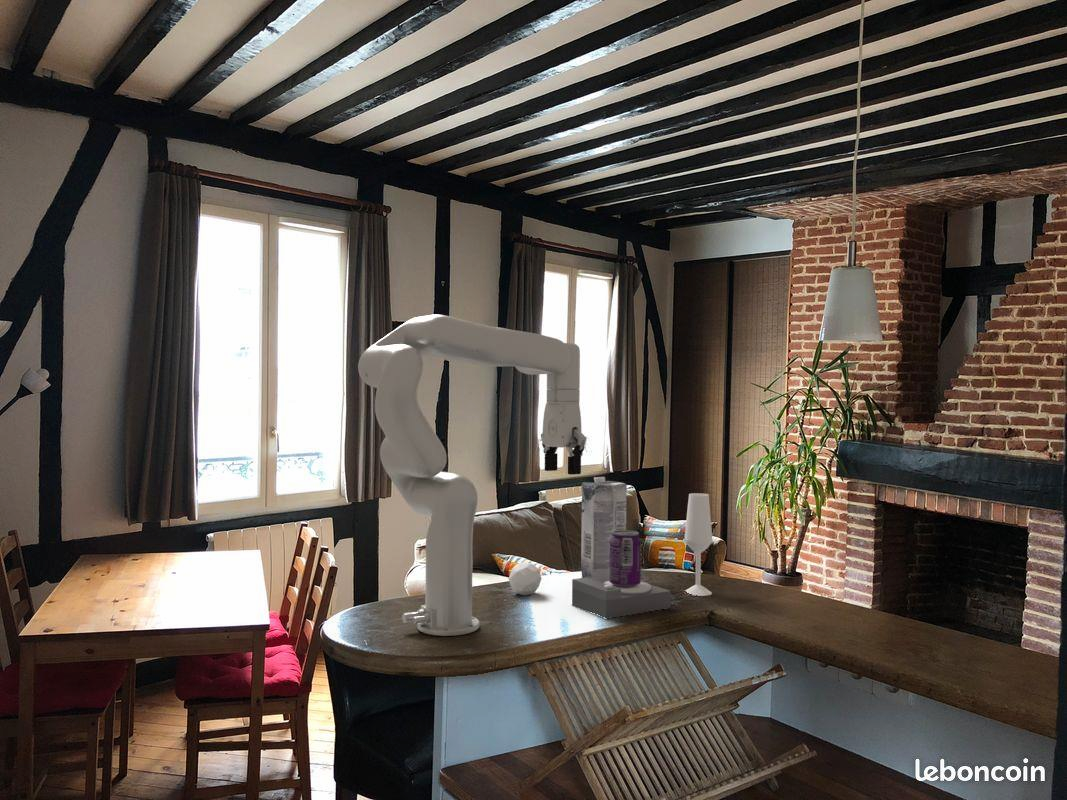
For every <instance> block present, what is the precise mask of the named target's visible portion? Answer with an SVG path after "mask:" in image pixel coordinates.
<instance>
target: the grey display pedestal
mask: <svg viewBox="0 0 1067 800" xmlns="http://www.w3.org/2000/svg"><path fill="white" fill-rule="evenodd" d="M571 584H572V585H571V586H572V587H571V591H572V592H571V593H572V594H571V606H572V607H574V606H575V608H577V607H578V608H577V609H579V608H580V610H582V609H583V610H582V611H584V610H586V611H585V612H587V611H589V612H592V613H595V614H598V615H600V616H602V617H605V618H610V617H617V618H619V617H618V616H623V617H627V616H626V615H629V616H633V615H632V614H635V615H638V614H637V613H641V612H646V611H651V610H659V609H664V608H670V607H671V604H672V603H671V600H672V595H671V594H672V590H669V589H665V588H662V587H660V586H656V585H653V584H650V583H649V582H648V583H647V582H645V581H642V580H641V583H640V584H638V585H636V586H635V587H628V588H625V587H617V586H615V585H614V584H612V583H610V582H609V581H607V582H604V583H602V582H599V581H596V580H593V579H590V578H587V577H586V578H582V577H581V578H580V577H579V578H573V579H571ZM659 611H660V610H659ZM589 612H588V613H589ZM592 613H591V614H592ZM641 614H642V613H641Z"/></svg>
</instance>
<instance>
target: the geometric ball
mask: <svg viewBox="0 0 1067 800" xmlns="http://www.w3.org/2000/svg"><path fill="white" fill-rule="evenodd" d="M508 576H509V577H508V582H509V585H510V588H511V589H512V591H514V592H515V593H516V594H517V595H522V596H528V595H532V594H535V593H536V591H537V590H538V589H539V586H540V585H541V582H542V575H541V572H540V569H539V568H538V567H537V566H536V565H535V564H534V563H530V562H526V561H524V562H519V563H516V564H515V565H514V567H513V568H511V571H510V573H509V575H508Z"/></svg>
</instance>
